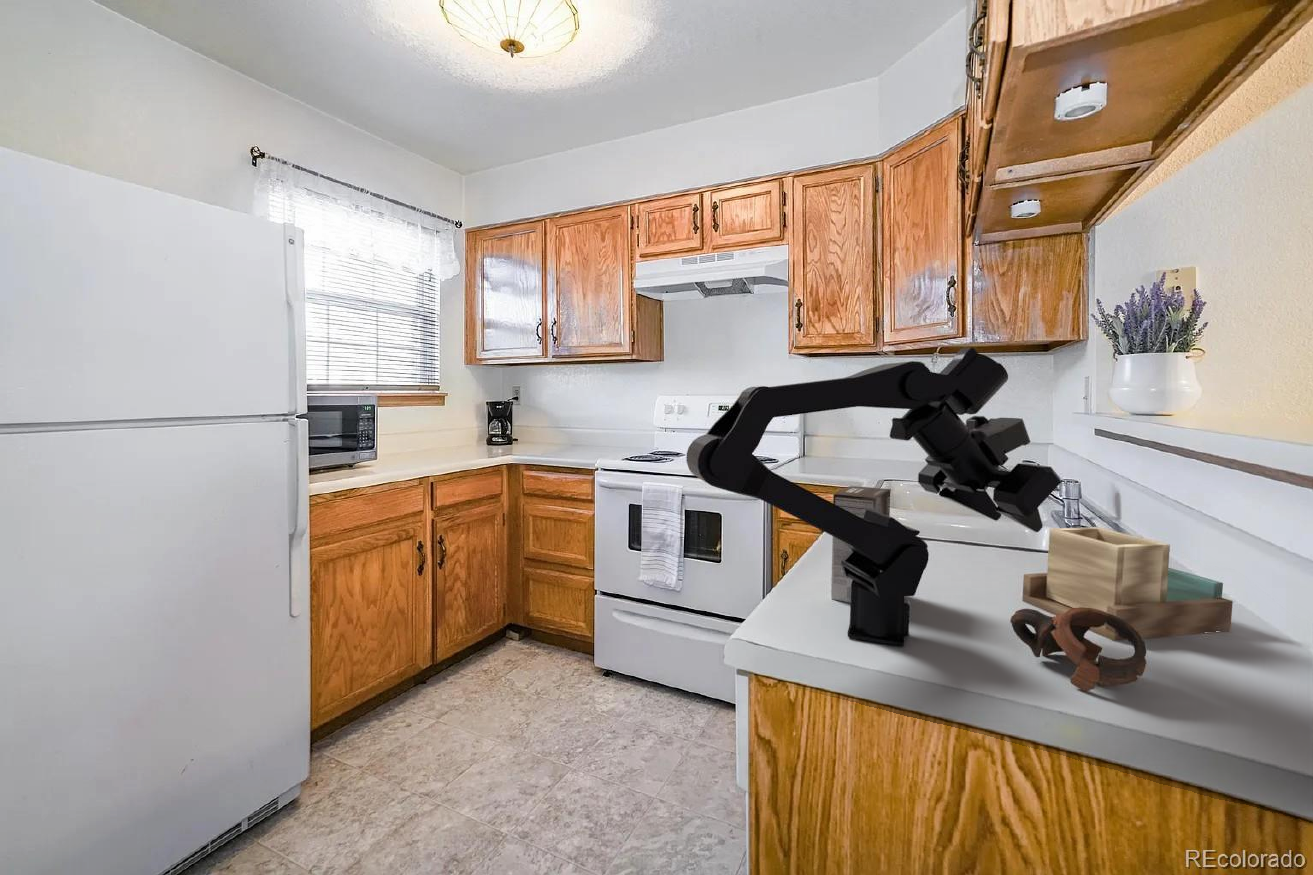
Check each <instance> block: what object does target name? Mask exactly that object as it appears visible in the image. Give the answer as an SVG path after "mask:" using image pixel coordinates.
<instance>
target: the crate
mask: <svg viewBox="0 0 1313 875" xmlns="http://www.w3.org/2000/svg"><path fill="white" fill-rule="evenodd" d="M1048 536H1049V537H1048V553H1047V570H1046V573H1047V588H1046V597H1048V598H1050V599H1053V600H1055V601H1058V602H1060V603H1063V604H1065V605H1068V606H1070V607H1072V608H1079V607H1085V608H1093V609H1097V610H1101V611H1104V612H1106V613H1107V606H1114V605H1128V604H1142V603H1156V602H1166V594H1167V580H1168V568H1169V563H1170V551H1171V549H1170V548H1171V544H1169V543H1165V542H1161V541H1157V540H1154V539H1153V540H1152V539H1148V538H1144V537H1139V536H1136V535H1131V534H1128V533H1124V532H1123V533H1122V532H1119V531H1115V530H1111V529H1106V528H1102V527H1100V526H1099V527H1098V526H1089V527H1065V528H1063V527H1062V528H1049V535H1048Z"/></svg>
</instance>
